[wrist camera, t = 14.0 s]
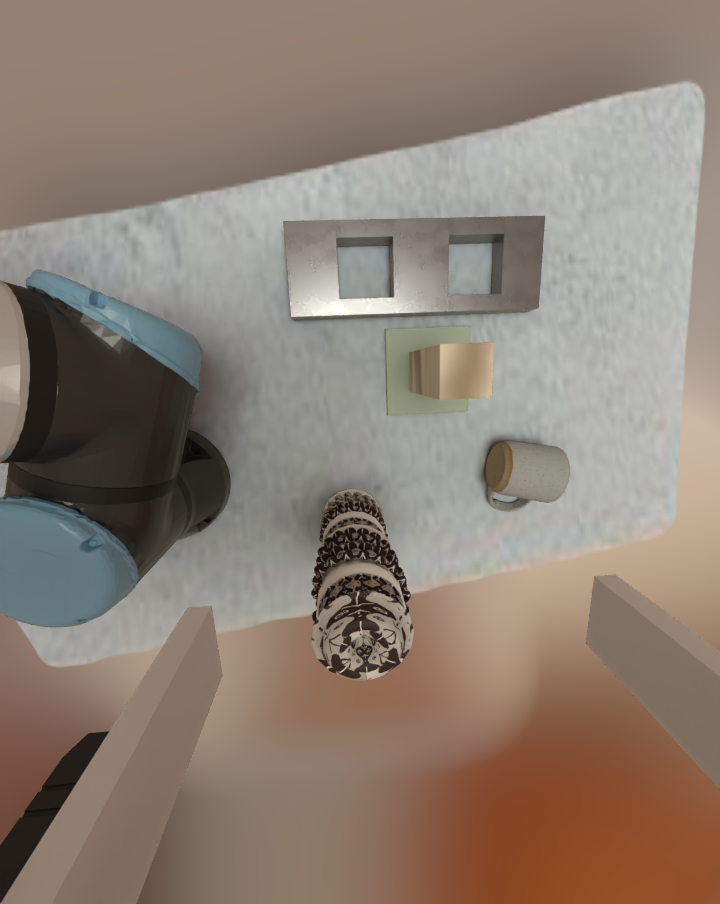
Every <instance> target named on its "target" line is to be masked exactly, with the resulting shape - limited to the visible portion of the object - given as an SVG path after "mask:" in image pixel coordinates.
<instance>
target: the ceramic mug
mask: <svg viewBox="0 0 720 904" xmlns="http://www.w3.org/2000/svg"><path fill="white" fill-rule="evenodd" d="M569 475H570V465H569V460H568V457H567V455H566V453H565V452H564V451H563V450H562V449H560V448H558V447H555V446H547V445H539V444H531V443H523V442H515V441H503V442H499V443H497V444H496V445H495V446H494V447H493V448H492V449H491V451H490V453H489V455H488V458H487V462H486V480H487V483H488V485H489V489H488V499H489V502H490V503H491V505H492V506H493V507H494V508H495V509H497V510H500V511H505V512H511V511H516V510H519V509H521V508H523V507H525V506H526V505H527V504H529V503H530V502H531V501H532V500H535V501H539V502H546V503H549V502H554V501H556V500H557V499H558V498H559V497H560V496H561V495H562V494H563V493H564V491H565V489H566V487H567V484H568V481H569ZM494 492H497V493H499V494H503V495H507V496H513V497H520V498H521V499H519V500H517V501H515V502H512V503H504V502H500V501H497V500H493V499H492V498H493V494H494Z"/></svg>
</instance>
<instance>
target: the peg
mask: <svg viewBox="0 0 720 904" xmlns="http://www.w3.org/2000/svg"><path fill="white" fill-rule="evenodd" d="M493 353H494V342H485V343H460V344H439V345H436V346H432V347H428V348H424V349H420V350H416V351H413V352H409V391H410V392H413V393H417V394H420V395H424V396H427V397H431V398H435V399H438V400H447V399H468V398H488V397H492V376H493Z"/></svg>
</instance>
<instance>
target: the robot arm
mask: <svg viewBox="0 0 720 904" xmlns="http://www.w3.org/2000/svg"><path fill="white" fill-rule="evenodd" d="M26 287H28V288H23V287H20V286H17V285H13V284H10V283H6V282H3V281H0V463H9V467H8V475H7V483H6V491H5V495H4V496H3V497H1V498H0V613H2V614H4V615H6V616H8V617H10V618H13V619H15V620H18V621H21V622H24V623H27V624H32V625H37V626H43V627H69V626H75V625H80V624H83V623H86V622H88V621H89V620H93V619H95V618H97V617H100V616H101V615H103V614H104V613H106V612H107V611H108V610H110V609H111V608H112V607H113V606H114V605H116V604H117V603H118V602H119V601H120V600H122V599H123V598H125V597H126V596H127V595H128V594H129V593H131V592H132V590H133V589H134V588H135V586H136V584H137V583H138V582H139V581H140V580H141V579H142V578H143V576H144V575H145V574H146V573H147V572H148V571H149V570H150V569H151V568H152V567H153V566H154V565H155V564H156V562H157V561H158V560H159V559H160V558H161V557H162V556H163V555H164V554H165V553H166V552H167V551H168V550H169V548H170V547H171V546H172V545H173V544H174V543H175V542H176V541H177V540H180V539H182V538H185V537H188V536H191V535H194V534H196V533H198V532H200V531H202V530H203V529H205V528H206V527H207V526H209V525H210V524H211V523H212V522H213V521H214V520H215V519H216V518H217V516H218V515H219V514H220V513H221V511H222V510H223V508H224V507H225V505H226V503H227V500H228V497H229V493H230V476H229V471H228V468H227V465H226V463H225V461H224V459H223V457H222V455H221V454H220V452H219V451H218V450H217V449H216V447H215V446H214V445H213V444H212V443H210V442H209V441H208V440H207V439H206V438H204V437H203V436H201V435H199V434H197V433H195V432H193V431H191V430H188V427H189V422H190V417H191V413H192V408H193V403H194V399H195V394H196V392H199V390H200V386H199V383H198V381H199V375H200V369H201V363H202V349H201V347H200V345H199V343H198V341H197V340H196V339H195V338H194V337H193V336H192V335H191V334H189V333H188V332H186V331H184V330H182V329H181V328H179V327H177V326H175V325H173V324H171V323H168V322H166V321H164V320H162V319H160V318H158V317H156V316H154V315H151V314H149V313H147V312H145V311H142V310H140V309H138V308H136V307H133V306H131V305H129V304H127V303H124V302H122V301H119V300H117V299H115V298H112V297H109V296H105V295H103V294H102V293H100V292H97V291H95V290H92V289H90V288H88V287H86V286H84V285H82V284H79V283H77V282H74V281H72V280H69V279H67V278H64V277H62V276H59V275H56V274H53V273H51V272H47V271H43V270H35V271H33V273H32V274H31V276H30V277H29V278H27V279H26ZM586 644H587V645H588V646H589V647H590V648H591V649H592V650H593V651H594V652H595V654H596V655H597V656H598V657H599V658H600V659H601V660H602V661H603V662H604V664H605V665H606V666H607V667H608V668H609V669H610V670H611V671H612V672H613V673H614V674H615V676H616V677H617V678H618V679H619V680H620V681H621V682H622V683H623V684H624V685H625V686H626V687H627V689H628V690H629V691H630V692H631V693H632V694H633V695H634V696H635V697H636V699H637V700H639V702H640V703H641V704H642V705H643V706H644V707H645V708H646V709H647V710H648V711H649V713H650V714H651V715H652V716H653V717H654V718H655V719H656V720H657V721H658V723H659V724H660V725H661V726H662V727H663V728H664V729H665V730H666V731H667V732H668V733H669V735H670V736H671V737H672V738H673V739H674V740H675V741H676V742H677V743H678V744H679V746H680V747H681V748H682V749H683V750H684V751H685V752H686V753H687V754H688V755H689V756H690V758H691V759H692V760H693V761H694V762H695V763H696V764H697V765H698V766H699V767H700V769H701V770H702V771H703V772H704V773H705V774H706V775H707V776H708V777H709V778H710V779H711V781H712V782H713V783H714V784H715V785H716V786H717V787H718V788H719V789H720V651H719V650H717V649H716V648H715V647H713V646H712V645H711V644H709V643H708V642H706V641H705V640H704V639H702V638H701V637H700V636H698V635H697V634H695V633H694V632H693V631H691V630H690V629H689V628H687V627H686V626H685V625H683V624H682V623H681V622H679V621H678V620H676V619H675V618H674V617H672V616H671V615H670V614H668V613H667V612H666V611H664V610H663V609H661V608H660V607H659V606H657V605H656V604H655V603H653V602H652V601H651V600H649V599H648V598H646V597H645V596H644V595H642V594H641V593H640V592H638V591H637V590H635V589H634V588H633V587H631V586H630V585H629V584H627V583H626V582H624V581H623V580H622V579H620V578H619V577H618V576H616V575H605V576H594V583H593V590H592V598H591V607H590V614H589V622H588V630H587V638H586ZM221 678H222V669H221V662H220V656H219V650H218V644H217V638H216V631H215V625H214V619H213V613H212V607H211V606H205V607H192V608H187V610H186V611H185V613H184V614H183V616H182V618H181V619H180V621H179V622H178V624H177V625H176V627H175V629H174V630H173V632H172V633H171V635H170V636H169V638H168V640H167V641H166V643H165V644H164V646H163V648H162V649H161V651H160V652H159V654H158V655H157V657H156V659H155V660H154V662H153V663H152V665H151V667H150V668H149V670H148V671H147V673H146V674H145V676H144V678H143V679H142V681H141V682H140V684H139V686H138V687H137V689H136V690H135V692H134V693H133V695H132V697H131V698H130V700H129V701H128V703H127V704H126V706H125V708H124V709H123V711H122V712H121V714H120V716H119V717H118V719H117V720H116V722H115V723H114V725H113V727H112V728H111V730H110V731H109V732H98V733H89V734H87V735H86V736H85V737H84V738H83V739H82V740H81V741H80V742H79V743H78V744H77V745H76V746H75V747H73V748H72V749H71V750H70V751H69V752H68V753H67V754H66V755H65V756H64V757H63V758H62V759H61V761H60V763H59V764H58V765H57V766H56V768H55V769H54V771H53V772H52V773H51V775H50V776H49V778H48V779H47V780H46V782H45V783H44V785H43V786H42V790H41V792H38V793H37V795H36V796H35V797H34V799H33V800H32V802H31V803H30V804H29V806H28V807H27V809H26V810H25V813H24V816H23V817H22V818H20V819H19V820H18V821H17V823H16V824H15V825H14V827H13V828H12V830H11V831H10V833H9V834H8V835H7V837H6V838H5V840H4V841H3V842H2V844H1V845H0V904H136V903H137V900H138V897H139V895H140V892H141V889H142V887H143V884H144V881H145V879H146V876H147V873H148V871H149V868H150V866H151V863H152V860H153V858H154V855H155V852H156V850H157V847H158V844H159V842H160V839H161V836H162V834H163V831H164V829H165V826H166V823H167V820H168V818H169V815H170V813H171V810H172V807H173V805H174V802H175V799H176V797H177V794H178V792H179V789H180V786H181V784H182V781H183V778H184V776H185V773H186V770H187V768H188V765H189V762H190V759H191V757H192V754H193V752H194V749H195V747H196V744H197V741H198V738H199V736H200V733H201V731H202V728H203V725H204V723H205V720H206V717H207V715H208V712H209V709H210V707H211V704H212V702H213V699H214V696H215V693H216V691H217V688H218V686H219V683H220V680H221Z"/></svg>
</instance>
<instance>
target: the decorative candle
mask: <svg viewBox="0 0 720 904" xmlns="http://www.w3.org/2000/svg"><path fill="white" fill-rule="evenodd" d="M321 523H322V524H321V532H320V534H321V535H320V541H321V542H322V546H321V548H319V550H318V554H319V557H318V558H317V560H316V562H317V566H316V567H315V568H314V572H315V574H316V576H314V578H313V580H312V582H313V585H314V587H315V588H313V590H312V592H311V595H312V596H313V598H315V599H317V600H316V607H317V610H316V611H314V612H313V615H312V618H313V620H314V622H315V623H314V624H313V631H312V641H311V643H312V646H313V648H314V651H315V654H316V657H317V659H318V660H319V661H320V662H321V663H322V664H323V665H324V666H325V667H326V668H327V669H328V670H329V671H331V672H333V673H336V674H338V675H340V676H343V677H346V678H349V679H352V680H370V679H374V678H377V677H381V676H382V675H384V674H386V673H387V672H389V671H390V670H391V669H393V668H394V667H396V666H397V665H399V664H400V663H401V662H402V661H403V659H404V658H405V656H406V654H407V653H408V652H409V650H410V649H411V645H412V640H413V634H414V629H413V626H412V622H411V619H410V615H409V614H408V612H409V607H408V605H407V604H406V602H407V601H408V600H409V598H410V592H409V591H408V589H407V585H406V578H405V576H404V572H403V570H402V569H401V568H400V567H399V565H398V558H397V557H396V553H395V552H394V551H393V550H392V549H391V545H390V542H389V541H388V540H387V537H388V534H387V533H386V526H385V524H384V520H383V515H382V513H381V509H380V508H379V506H378V503H377V502H376V501H375V499H374V498H373V497H372V496H371V495H370V494H368V493H366V492H364V491H362V490H357V489H347V490H343V491H340V492H338V493H336V494H335V495H334V496H332V497H331V498H330V499H329V500H328V502H327V504H326V505H325V507H324V511H323V516H322V521H321ZM393 574H394V575H393ZM397 580H398V581H399V582H400V584H399V582H398V581H397ZM320 585H321V586H320Z"/></svg>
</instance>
